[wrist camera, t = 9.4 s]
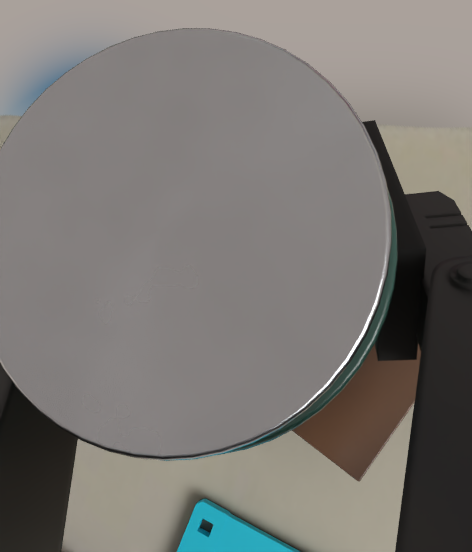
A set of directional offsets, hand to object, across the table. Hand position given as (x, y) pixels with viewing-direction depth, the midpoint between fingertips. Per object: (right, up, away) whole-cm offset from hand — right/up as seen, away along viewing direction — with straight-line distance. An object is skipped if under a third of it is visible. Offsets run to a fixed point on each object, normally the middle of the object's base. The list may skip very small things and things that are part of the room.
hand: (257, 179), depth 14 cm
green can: (+1, -4, +3) cm, 5 cm away
